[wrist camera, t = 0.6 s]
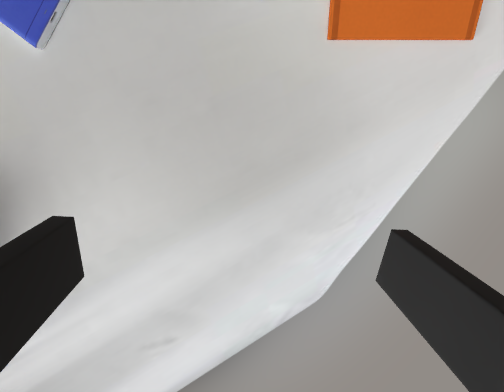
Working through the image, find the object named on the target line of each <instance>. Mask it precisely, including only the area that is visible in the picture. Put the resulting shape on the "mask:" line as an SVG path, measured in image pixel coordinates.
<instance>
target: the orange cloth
mask: <svg viewBox="0 0 504 392" xmlns="http://www.w3.org/2000/svg"><path fill="white" fill-rule="evenodd" d="M482 3H483V0H330V13H329V26H328V40H472V39H473V38H474V34H475V30H476V26H477V22H478V19H479V15H480V11H481V7H482Z"/></svg>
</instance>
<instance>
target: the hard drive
mask: <svg viewBox="0 0 504 392" xmlns="http://www.w3.org/2000/svg"><path fill="white" fill-rule="evenodd" d="M69 1H70V0H0V22H2V23H3V24H4V25H6V26H7V27H9V28H10V29H11V30H13V31H14V32H15V33H17V34H18V35H19V36H21V37H22V38H23V39H25V40H26V41H27V42H29V43H30V44H31V45H33V46H34V47H35V48H38V49H41V50H42V49H43V48H44V47H45V46H46V44H47V42H48V40H49V38H50V36H51V35H52V33H53V31H54V29H55V27H56V25H57V23H58V21H59V19H60V18H61V16H62V14H63V12H64V10H65V8H66V6H67V4H68V3H69Z"/></svg>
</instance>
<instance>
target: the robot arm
mask: <svg viewBox="0 0 504 392" xmlns="http://www.w3.org/2000/svg"><path fill="white" fill-rule="evenodd" d="M83 277H84V272H83V266H82V260H81V255H80V249H79V244H78V238H77V232H76V227H75V221H74V217H63V216H52V217H50V218H48V219H47V220H45V221H43V222H42V223H40V224H38V225H37V226H35V227H33V228H32V229H30V230H28V231H27V232H25V233H23V234H22V235H20V236H18V237H17V238H15V239H13V240H12V241H10V242H8V243H7V244H5V245H3V246H2V247H0V372H1V371H2V370H3V369H4V368H5V366H6V365H7V364H8V363H9V362H10V361H11V360H12V358H13V357H14V356H15V355H16V354H17V353H18V352H19V350H20V349H21V348H22V347H23V346H24V345H25V344H26V342H27V341H28V340H29V339H30V338H31V337H32V336H33V334H34V333H35V332H36V331H37V330H38V329H39V328H40V326H41V325H42V324H43V323H44V322H45V321H46V320H47V318H48V317H49V316H50V315H51V314H52V313H53V312H54V310H55V309H56V308H57V307H58V306H59V305H60V304H61V302H62V301H63V300H64V299H65V298H66V297H67V296H68V294H69V293H70V292H71V291H72V290H73V289H74V288H75V286H76V285H77V284H78V283H79V282H80V281H81V280H82V278H83ZM376 281H377V283H378V284H379V285H380V286H381V288H382V289H383V290H384V291H385V292H386V293H387V295H388V296H389V297H390V298H391V299H392V301H393V302H394V303H395V304H396V305H397V306H398V308H399V309H400V310H401V311H402V312H403V314H404V315H405V316H406V317H407V318H408V320H409V321H410V322H411V323H412V324H413V325H414V326H415V328H416V329H417V330H418V331H419V332H420V334H421V335H422V336H423V337H424V338H425V340H426V341H427V342H428V343H429V344H430V346H431V347H432V348H433V349H434V350H435V352H436V353H437V354H438V355H439V356H440V357H441V359H442V360H443V361H444V362H445V363H446V365H447V366H448V367H449V368H450V369H451V370H452V372H453V373H454V374H455V375H456V376H457V378H458V379H459V380H460V381H461V382H462V384H463V385H464V386H465V387H466V388H467V389H468V391H469V392H504V296H503V295H502V294H500V293H499V292H497V291H496V290H494V289H493V288H491V287H490V286H488V285H487V284H486V283H484V282H482V281H481V280H480V279H478V278H477V277H475V276H474V275H472V274H471V273H469V272H468V271H467V270H465V269H464V268H462V267H461V266H459V265H458V264H456V263H455V262H453V261H452V260H450V259H449V258H448V257H446V256H444V255H443V254H442V253H440V252H439V251H437V250H436V249H434V248H433V247H432V246H430V245H429V244H427V243H426V242H424V241H423V240H421V239H420V238H418V237H417V236H415V235H414V234H413V233H411V232H409V231H408V230H393V229H392V230H391V233H390V236H389V239H388V243H387V246H386V249H385V252H384V256H383V259H382V262H381V265H380V268H379V272H378V275H377V278H376Z"/></svg>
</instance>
